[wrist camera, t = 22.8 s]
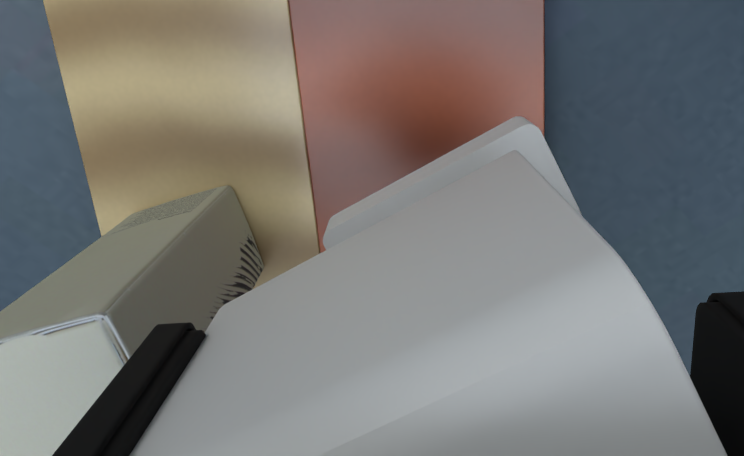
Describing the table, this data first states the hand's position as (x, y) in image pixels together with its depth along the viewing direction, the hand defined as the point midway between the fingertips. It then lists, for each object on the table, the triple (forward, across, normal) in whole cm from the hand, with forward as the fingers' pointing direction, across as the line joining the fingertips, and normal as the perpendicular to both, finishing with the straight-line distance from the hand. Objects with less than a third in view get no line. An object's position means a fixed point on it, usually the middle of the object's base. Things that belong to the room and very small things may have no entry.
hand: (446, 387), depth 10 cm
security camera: (+6, 0, 0) cm, 6 cm away
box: (+17, +10, +3) cm, 20 cm away
